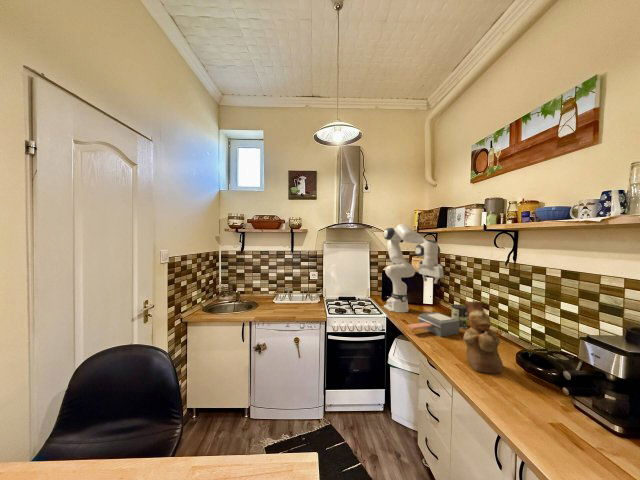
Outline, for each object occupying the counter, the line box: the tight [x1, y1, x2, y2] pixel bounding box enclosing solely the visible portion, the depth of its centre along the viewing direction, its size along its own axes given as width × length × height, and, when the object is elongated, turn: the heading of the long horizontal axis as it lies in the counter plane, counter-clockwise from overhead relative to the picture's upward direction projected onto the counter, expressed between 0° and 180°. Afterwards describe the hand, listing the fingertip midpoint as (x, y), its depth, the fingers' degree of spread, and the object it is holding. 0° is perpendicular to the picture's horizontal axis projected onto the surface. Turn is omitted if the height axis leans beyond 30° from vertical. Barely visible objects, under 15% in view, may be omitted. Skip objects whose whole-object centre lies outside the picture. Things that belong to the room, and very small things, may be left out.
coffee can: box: [450, 303, 469, 330], centre depth 176 cm, size 10×10×14 cm
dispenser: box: [417, 311, 461, 338], centre depth 168 cm, size 19×17×9 cm
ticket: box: [406, 322, 433, 330], centre depth 164 cm, size 6×20×1 cm, turn 110°
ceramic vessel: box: [463, 301, 504, 374], centre depth 124 cm, size 16×22×30 cm
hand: (430, 282), depth 176 cm, fingers open, 8 cm apart
